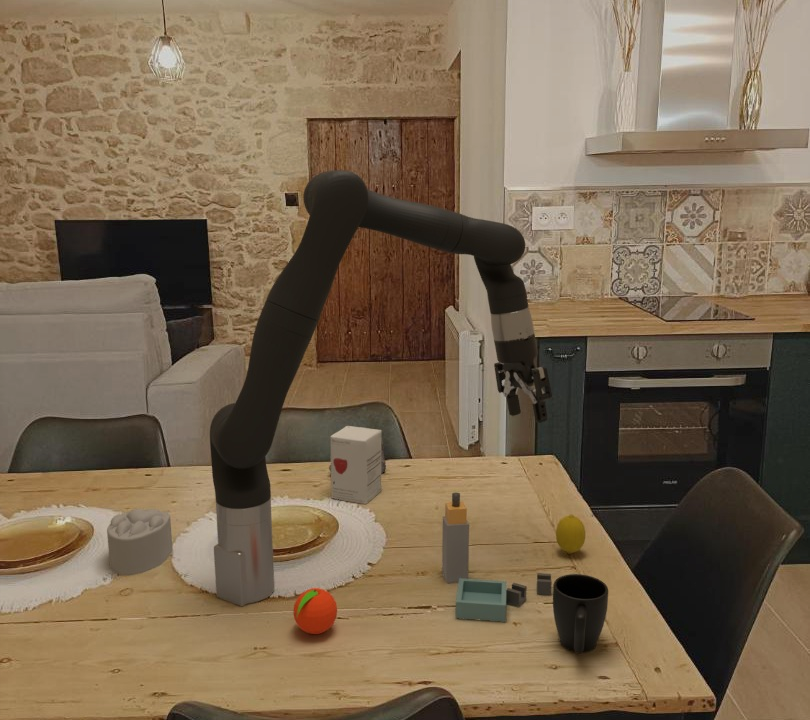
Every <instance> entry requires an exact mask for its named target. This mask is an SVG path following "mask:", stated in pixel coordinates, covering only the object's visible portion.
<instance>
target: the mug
mask: <svg viewBox="0 0 810 720" xmlns="http://www.w3.org/2000/svg"><path fill="white" fill-rule="evenodd" d="M552 586H553V587H552V588H553V589H552V608H553V609H552V611H553V617H554V623H555V626H556V631H557V634H558V639H559V642H560V645H561V646H562V647H563V648H564V649H566V650H568V651H571V652H575V653H577V654H582V653H589V652H590V651H593V650H595V648H597V647H596V646H597V643H598V641H599V639H600V636H601V634H602V631H603V628H604V626H605V625H604V624H605V621H606V617H607V611H608V601H609V589H608V588H609V587H608V586H607V585H606V583H605V582H604V581H602V580H600V579H599V578H596V577H594V576H590V575H587V574H582V573H581V574H578V573H571V574H565V575H561V576H559V577H558V578H556V579H555V580H554V582H553V585H552Z"/></svg>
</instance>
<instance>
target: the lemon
mask: <svg viewBox="0 0 810 720" xmlns="http://www.w3.org/2000/svg"><path fill="white" fill-rule="evenodd" d="M555 539H556V543H557V545H558V546H559V548H560V549H561V550H563V551H564V552H566V554H568V555H571V554H573V553H576V552H578V551H580V549H581V548H582V547H583V546H584V544H585V542H586V529H585V525H584V523H583V521H582V520H581V519H580V518H578V517H577V516H575V515H574V514H569V515H566V516H564V517H562V518H561V519H560V520H559V522H558V523H557V525H556V529H555Z"/></svg>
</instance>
